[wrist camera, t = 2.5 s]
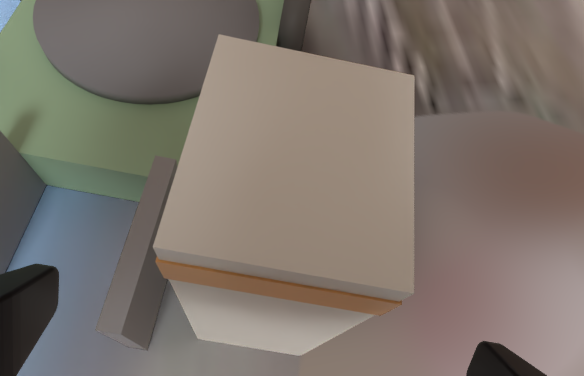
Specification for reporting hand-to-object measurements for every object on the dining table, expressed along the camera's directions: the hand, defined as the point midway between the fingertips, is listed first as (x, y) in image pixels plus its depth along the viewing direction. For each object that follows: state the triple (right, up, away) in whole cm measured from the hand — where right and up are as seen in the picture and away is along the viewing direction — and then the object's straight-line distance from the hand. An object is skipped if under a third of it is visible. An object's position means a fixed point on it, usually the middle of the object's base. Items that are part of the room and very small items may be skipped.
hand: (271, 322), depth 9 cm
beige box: (-1, -2, +10) cm, 11 cm away
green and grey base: (-8, +6, +13) cm, 17 cm away
